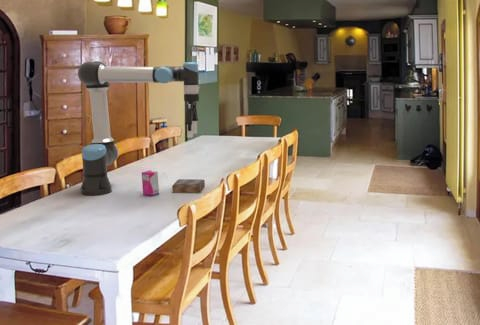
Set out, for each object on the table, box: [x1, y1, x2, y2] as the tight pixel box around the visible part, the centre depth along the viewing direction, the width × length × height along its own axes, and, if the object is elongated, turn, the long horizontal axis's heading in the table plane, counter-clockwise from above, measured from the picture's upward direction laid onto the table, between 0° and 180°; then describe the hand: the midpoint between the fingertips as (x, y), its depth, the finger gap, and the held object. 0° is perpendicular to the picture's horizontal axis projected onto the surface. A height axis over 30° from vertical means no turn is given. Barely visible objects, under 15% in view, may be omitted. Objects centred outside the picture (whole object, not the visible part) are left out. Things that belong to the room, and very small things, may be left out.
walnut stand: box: [171, 178, 206, 194], centre depth 293 cm, size 14×14×4 cm
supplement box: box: [141, 170, 160, 197], centre depth 283 cm, size 6×6×12 cm
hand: (192, 135), depth 293 cm, fingers open, 13 cm apart
